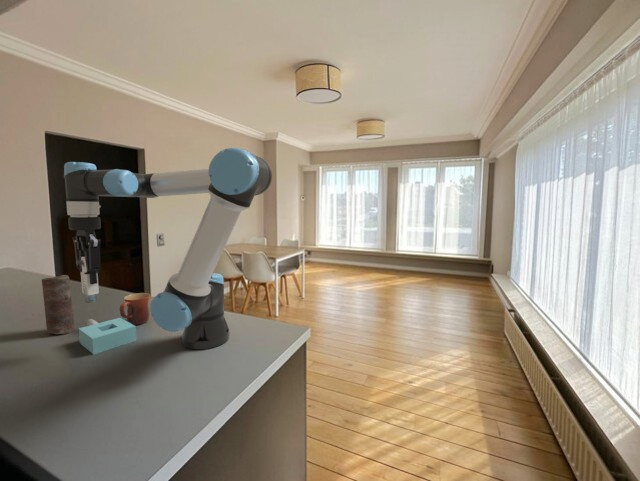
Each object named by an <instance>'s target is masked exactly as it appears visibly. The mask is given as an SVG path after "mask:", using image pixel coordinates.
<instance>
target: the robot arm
mask: <svg viewBox="0 0 640 481" xmlns="http://www.w3.org/2000/svg"><path fill="white" fill-rule="evenodd" d="M63 168H64V169H63V178H64V187H65V196H66V203H65V204H66V212H67V214H66V215H67V216H69V217H68V218H67V220H68V221H67V222H68V229H69V230H71V231H76V235H75V236H72V241H73V245H74V246H73V247H74V254H75V262H76V261H77V260H81V257H82V256H85V261H86V268H87V272H84V274H86V284H87V295H93V294H97V295H98V294H99V293H100V290H99V276H98V274H99V272H101V271H102V266H101V264H102V263H101V244H102V241H101V239H100V238H97V235H96V232H95V231H96V230H100V229H101V228H102V225H101V217H100V216H99V215H100V214H101V213H100V208H101V207H102V206H101V205H100V199H99V197H118V198H119V197H121V198H124V197H127V198H146V199H154V198H158V197H168V196H169V197H170V196H184V195H200V194H209V195H210V199H209V202H208V204H207V206H206V208H205V210H204V213H203V215H202V217H201V220H200V222H199V225H198V226H197V229H196V231H195V233H194V235H193V239H192V241H191V243H190V244H189V247H188V250H187V251H186V254H185V257H184V259H183V261H182V263H181V266H180V268H179V271H178V273H177V272H176V273H174V274H172V275H171V276H170V277H169V279H168V281H167V282H166V285H165V288H164V290H163V291H161V292H159V293H157V294H156V295H155V296H154V297H153V299H152V300H151V302H150V304H149V313H150V316H151V317H152V318H153V321H154V322H155V323H156V325H157V326H158V327H159V328H161V329H162V330H164V331H168V332H174V333H175V332H179V331H181V330H183V333H182V335H181V341H182V342H181V343H182V345H183V347H185V348H188V349H191V350H206V349H208V350H209V349H214V348H216V347H219V346H221V345H224V344H225V343H226V342H228V341H229V339H230V329H229V324H228V323H227V320H226V317H225V282H224V281H225V279H224V276H223V275H222V274H220V273H217V272H214V271H215V269H216V267H217V265H218V264H219V260H220V258H221V257H222V254H223V253H224V249H225V248H226V245H227V243H228V241H229V238H230V236H231V235H232V233H233V230H234V227H235V225H236V224H237V221H238V219H239V216H240V215H241V213H242V211H245V210H248V209H249V208H250V206H251V204H252V202H253V200H254V199H255V196H259V195H262V194H264V193H265V192H266V191H267V190H268V189H269V188H270V186H271V185H272V182H273V173H272V169H271V166H270V165H269V164H268V162H267V161H266V160H265V159H263V158H262V157H260V156H258V155H255V154H253V153H251V152H249V151H248V150H245V149H242V148H238V147H237V148H236V147H228V148H225V149H222V150H220V151H219V152H217V153H216V154H215V155H214V156H213V157H212V159H211V161H210V163H209V166H208V168H204V169H203V168H202V169H190V170H189V169H188V170H179V171H177V170H176V171H167V172H166V171H164V172H156V173H155V172H154V173H136V172H131V171H130V170H127V169H119V168H115V169H97V166H96V164H94V163H90V162H83V161H81V162H80V161H68V162H65V163H64V165H63ZM76 269H77V270H79V272H80V281H81V283H80V284H81V292H82V294H84V286H83V274H82V265H77V264H76Z"/></svg>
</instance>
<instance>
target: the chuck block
mask: <svg viewBox="0 0 640 481" xmlns="http://www.w3.org/2000/svg"><path fill="white" fill-rule="evenodd" d="M85 325H86V326H82V327H78V337H79V339H78V340H79V344H80V345H81V346H83V347H84V348H85V349H87V351H89V352H90V353H91V354H92V355H96V354H97V355H98V354H100V353H102V352H106V351H109V350H112V349H115V348H118V347H122V346H125V345H127V344H130V343H133V342H137V327H136V326H137V325H133V324H131V323H129V322H128V321H127V320H125V318H123V317H117V318H113V319H109V320H105V321H102V322H98V321H97V320H95V319H93V318H89V319H87V320H86V321H85Z"/></svg>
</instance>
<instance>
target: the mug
mask: <svg viewBox="0 0 640 481" xmlns="http://www.w3.org/2000/svg"><path fill="white" fill-rule="evenodd" d="M150 298H151V294H150V293H148V292H139V293H138V292H137V293H131V294H128V295H126V296H124V297H123V300H124V302H123V303H121V304H120V305H119V314H120V316H121V318H122V319H126V321H127V322H129V323H131V324H133V325H134V326H140V325H143V324H146V323H147V322H148V321H150V316H151V313H150V300H151V299H150ZM125 307H126V313H125Z"/></svg>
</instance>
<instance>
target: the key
mask: <svg viewBox="0 0 640 481" xmlns="http://www.w3.org/2000/svg"><path fill="white" fill-rule="evenodd" d="M75 264H76V266H77V265H82V271H81V272H82V274H83V286H84V293H83V296H84V297H83V298H84V303H85V304H90V303H91V304H92V303H96V302H97V301H98V294H93V295H87V284H86V274H84V272H87V268H86V261H85V256H82V257H81V260H77V261H76V260H75Z"/></svg>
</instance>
